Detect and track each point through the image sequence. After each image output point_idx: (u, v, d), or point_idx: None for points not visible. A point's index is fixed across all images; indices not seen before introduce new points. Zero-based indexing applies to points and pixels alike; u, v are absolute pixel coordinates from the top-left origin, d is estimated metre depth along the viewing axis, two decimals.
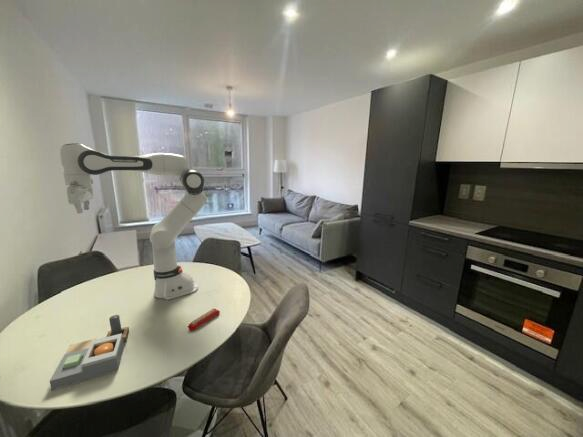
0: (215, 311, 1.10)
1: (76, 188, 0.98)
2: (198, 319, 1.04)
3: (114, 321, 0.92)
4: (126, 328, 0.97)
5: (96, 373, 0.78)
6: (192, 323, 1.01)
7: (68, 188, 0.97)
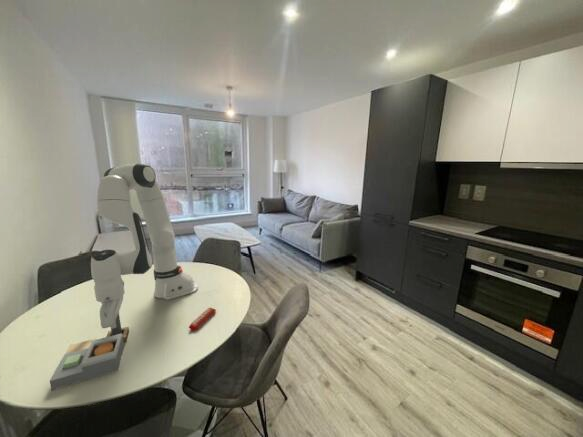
0: (212, 310, 1.12)
1: (110, 309, 0.84)
2: (198, 319, 1.04)
3: None
4: (126, 328, 0.97)
5: (96, 373, 0.78)
6: (193, 323, 1.01)
7: (101, 311, 0.83)
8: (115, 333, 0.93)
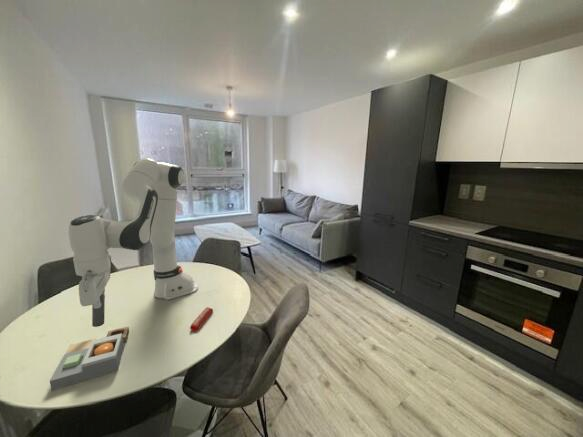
0: (209, 309, 1.12)
1: (91, 283, 0.70)
2: (198, 319, 1.04)
3: None
4: (126, 328, 0.97)
5: (96, 373, 0.78)
6: (194, 324, 1.01)
7: (80, 285, 0.69)
8: (96, 316, 0.78)
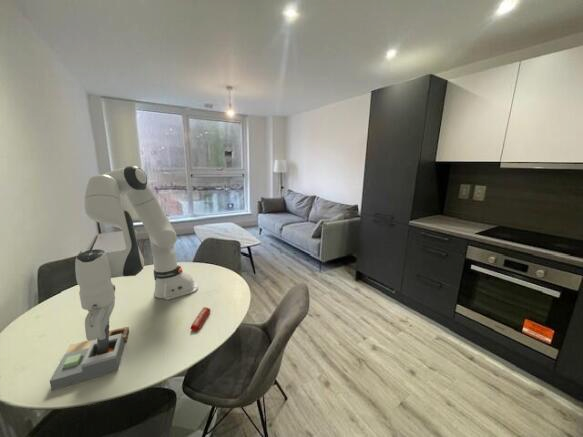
0: (207, 309, 1.12)
1: (97, 318, 0.72)
2: (197, 319, 1.04)
3: None
4: (126, 328, 0.97)
5: (96, 373, 0.78)
6: (194, 324, 1.01)
7: (86, 321, 0.71)
8: (101, 346, 0.81)
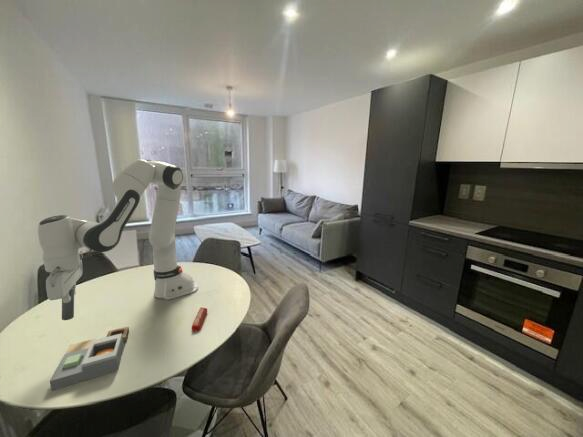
0: (205, 309, 1.12)
1: (58, 279, 0.75)
2: (197, 319, 1.04)
3: None
4: (126, 328, 0.97)
5: (96, 373, 0.78)
6: (195, 324, 1.01)
7: (47, 280, 0.74)
8: (65, 310, 0.83)
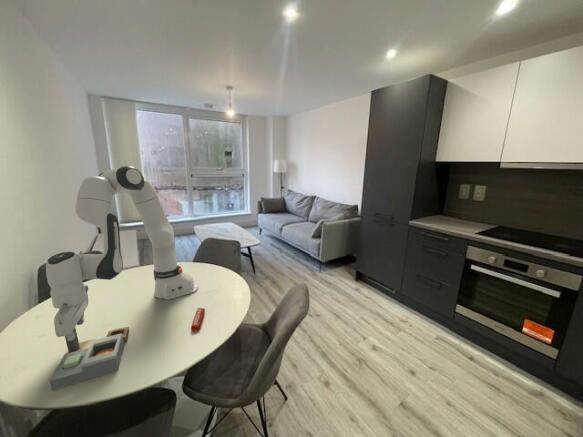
0: (202, 309, 1.12)
1: (66, 316, 0.78)
2: (196, 319, 1.04)
3: None
4: (126, 328, 0.97)
5: (96, 373, 0.78)
6: (194, 324, 1.01)
7: (56, 318, 0.76)
8: (70, 342, 0.86)
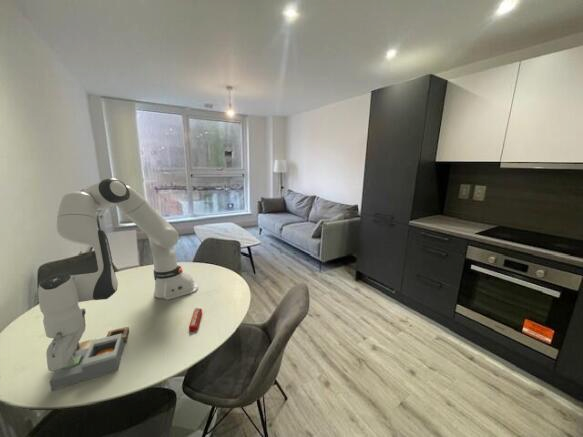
0: (200, 309, 1.12)
1: (60, 348, 0.69)
2: (194, 320, 1.03)
3: None
4: (126, 328, 0.97)
5: (96, 373, 0.78)
6: (192, 324, 1.00)
7: (48, 351, 0.68)
8: None
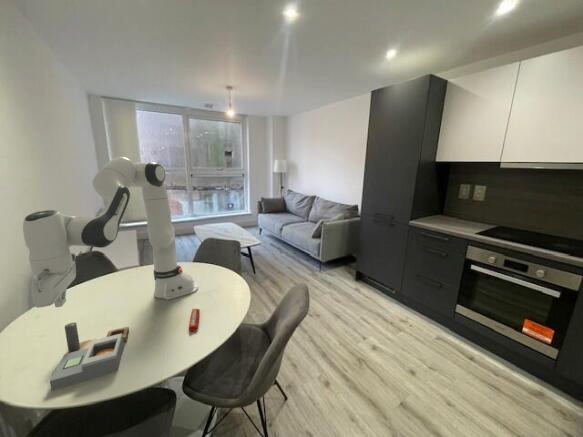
0: (197, 309, 1.12)
1: (46, 283, 0.65)
2: (193, 320, 1.03)
3: (70, 329, 0.85)
4: (126, 328, 0.97)
5: (96, 373, 0.78)
6: (192, 325, 1.00)
7: (34, 285, 0.64)
8: (71, 342, 0.86)
